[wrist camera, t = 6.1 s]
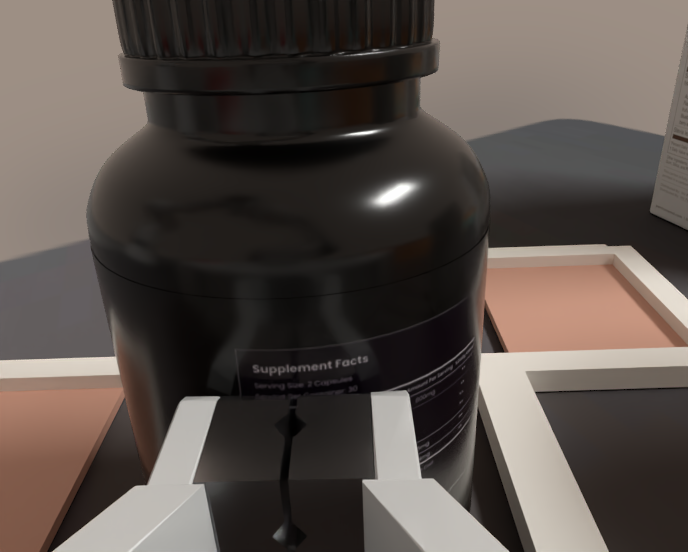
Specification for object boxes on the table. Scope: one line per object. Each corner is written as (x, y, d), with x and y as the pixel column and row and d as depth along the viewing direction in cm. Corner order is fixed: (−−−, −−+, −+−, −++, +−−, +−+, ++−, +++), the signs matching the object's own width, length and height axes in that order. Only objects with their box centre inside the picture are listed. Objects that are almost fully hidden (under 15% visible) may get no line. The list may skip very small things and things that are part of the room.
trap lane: (1368, 1010, 7) (1690, 866, 6) (-749, 1059, 8) (-1107, 937, 6) (587, 221, 31) (599, 144, 29) (70, 239, 31) (50, 163, 29)
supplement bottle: (137, 498, 15) (15, -35, 10) (368, 412, 18) (357, -35, 13) (222, 771, 10) (43, -108, 5) (537, 583, 12) (624, -80, 8)
